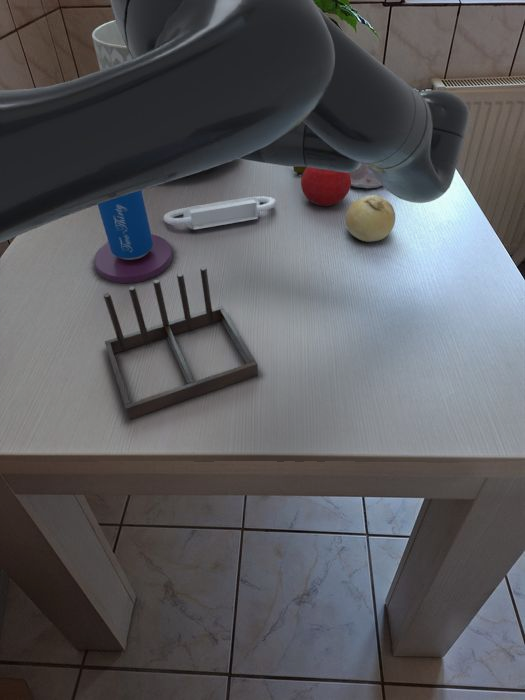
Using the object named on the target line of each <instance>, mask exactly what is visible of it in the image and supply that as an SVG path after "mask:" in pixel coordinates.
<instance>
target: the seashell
mask: <svg viewBox="0 0 525 700" xmlns="http://www.w3.org/2000/svg"><path fill="white" fill-rule="evenodd" d="M350 177H351V186H350V187H355V188H362V189H376V188H380V187H383V185H382V184H381V183H380V182H379V181H378V179H377V178H376V176H375V175H374V173H373V172H372V170H371V169H370V167H369V166H367V165H364V164H362V165H361V166H360V167H359V169H358V170H356V171H354V172H350Z"/></svg>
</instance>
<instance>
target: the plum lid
mask: <svg viewBox="0 0 525 700" xmlns="http://www.w3.org/2000/svg"><path fill="white" fill-rule="evenodd" d="M151 236H152V241H153V247H152V249H151V250H150V251H149V252H148V253H147V254H146V255H145V256H143V257H141V258H138V259H134V260H125V259H122V258H119V257H116V256H115V255H113V253H112V252H111V249H110V245H109V242H108V241H107V242H106V243H105V244H103V245H102V246H101V247H100V248H99V249H98V250H97V252H96V253H95V255H94V259H93V261H94V266H95V269H96V272H97V273H98V275H100V277H101V278H103V279H105V280H107V281H109V282H113V283H118V284H134V283H139V282H145V281H147V280H150V279H153V278H155V277H157V276H159V275H161V274H162V273H164V271H166V270H167V269H168V268H169V266H170V265H171V263H172V261H173V249H172V246H171V244H170V243H169V241H167V240H166V239H165V238H163V237H161V236H159V235H156V234H152V233H151Z"/></svg>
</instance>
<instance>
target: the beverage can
mask: <svg viewBox="0 0 525 700" xmlns="http://www.w3.org/2000/svg"><path fill="white" fill-rule="evenodd" d="M97 207H98V210H99V214H100V217H101V220H102V225H103V228H104V231H105V235H106V238H107V243H108V242H109V245H110V249H111V252H112V253H113V255H115V256H116V257H119V258H122V259H125V260H134V259H138V258H141V257H143V256H145V255H146V254H147V253H148V252H149V251H150V250H151V249H152V247H153V241H152V236H151V234H152V233H151V232H152V231H151V227H150V223H149V219H148V214H147V209H146V204H145V200H144V195H143V190H140V191H137V192H134V193H131V194H128V195H124V196H121V197H118V198H115V199H112V200H109V201H106V202H103V203H100V204H97Z"/></svg>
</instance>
